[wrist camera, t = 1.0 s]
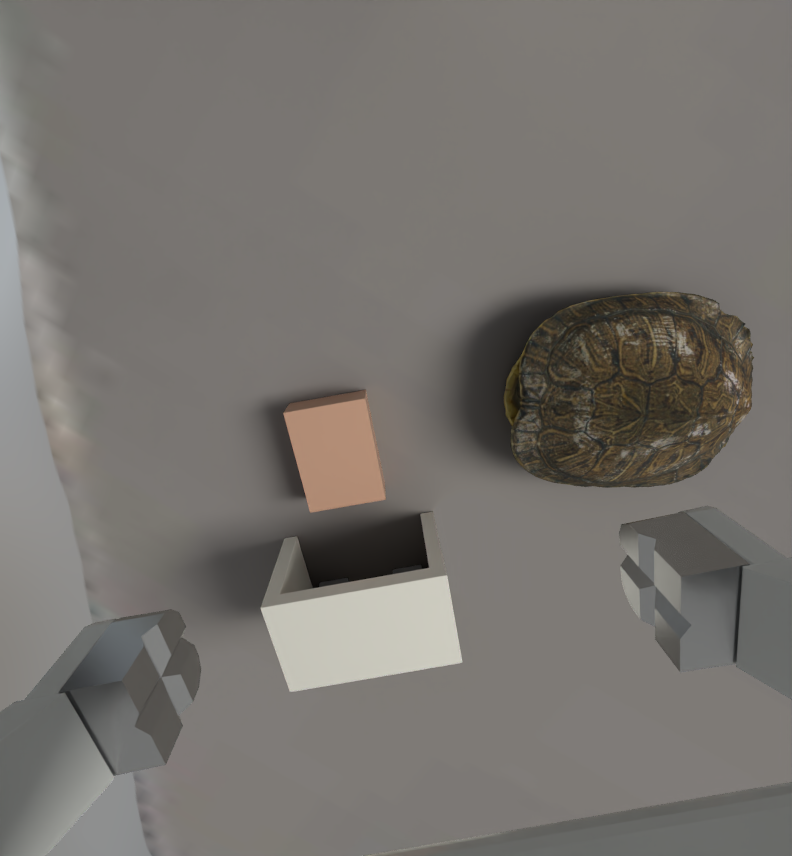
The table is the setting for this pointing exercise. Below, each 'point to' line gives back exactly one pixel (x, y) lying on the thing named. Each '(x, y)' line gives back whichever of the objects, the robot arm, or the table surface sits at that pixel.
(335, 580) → the stop blocks
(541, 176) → the table surface
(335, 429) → the tan rectangular block
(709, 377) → the turtle shell
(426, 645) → the white storage bin
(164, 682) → the robot arm
